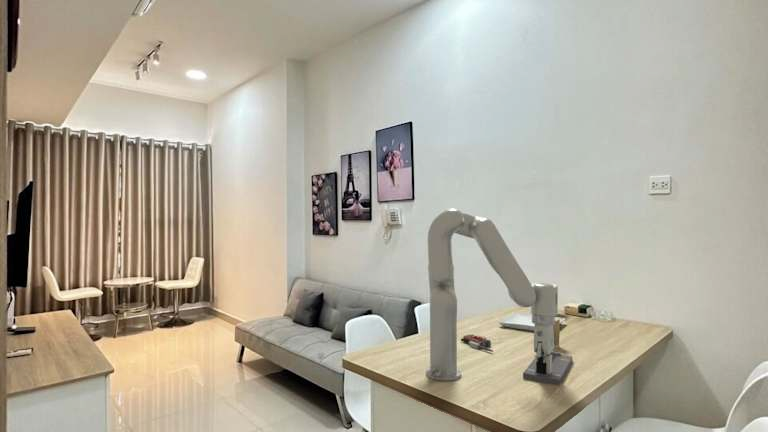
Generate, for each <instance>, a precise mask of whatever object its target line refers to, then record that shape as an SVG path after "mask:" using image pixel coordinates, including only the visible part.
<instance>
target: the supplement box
mask: <svg viewBox="0 0 768 432" xmlns="http://www.w3.org/2000/svg"><path fill="white" fill-rule="evenodd" d="M536 283H537V282H534V284H536ZM550 284H551V285H553V286H554V288H555V316H556V317H557V315H558V314H559V312H558V311H559V308H558V307H559V306H558V305H559V303H558V302H559V301H558V300H559V297H558V296H559V295H558V293H559V292H558V290H559V289H558V288H559V287H558V285H559V284H555V283H554V284H553V283H550ZM557 313H558V314H557ZM530 314H532V306H530Z"/></svg>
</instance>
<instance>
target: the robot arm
mask: <svg viewBox="0 0 768 432" xmlns="http://www.w3.org/2000/svg"><path fill="white" fill-rule="evenodd" d="M454 234H456V235H460V236H464V237H466V238H470V239H473V240H475V242H476V243H477V244H478V246H479V248H480V250H481V251H482V253H483V255H484V256H485V258H486V260H487V261H488V264H489V265H490V267H491V268H492V269H493V270H494V271H495V273H496V274H497V275H498V276H499V277H500V279H501V280H502V282H503V283H504V285H505V287H506V288H507V290H508V291H507V293H508V296H509V297H510V299H511V300H512V301H513V302H514V303H515V304H516V305H517V306H519V307H521V308H529V307H530V308H531V306H532V323H534V324H535V327H534V331H533V351H534V352H535V354H536V353H537V354H536V356H537V359H536V372H537V373H540V374H546V363H545V360H546V354H547V355H549V354H550V353H551V352H553V351H554V333H553V325H555V288H554V286H553V285H551V284H552V283H545V282H534V283H532V282H530V280H529V279H528V277H527V275H526V274H525V272H524V271H523V268H522V267H521V266H520V264H519V262H518V261H517V259H516V258H515V256H514V255H513V253H512V252H511V250H510V248H509V246H508V245H507V243H506V241H505V240H504V239H503V236H502V235H501V233H500V232H499V229H498V228H497V227H496V225H495V224H494V222H493V220H491V219H489V218H486V217H479V216H475V215H472V214H469V213H466V212H462V211H461V210H459V209H456V208H448V209H446V210H444V211H443V212H441V213H439V215H437V216H436V217H435V218H434V220H432V222H431V224H430V226H429V229H428V233H427V253H428V254H427V256H428V266H427V271H428V283H429V348H430V349H429V351H430V352H429V354H430V355H429V356H430V357H429V362H430V363H429V364H430V365H429V367H427V369H426V370H425V375H426V377H428V378H430V379H432V380H435V381H439V382H451V381H452V382H453V381H456V380H457V381H458V379H460V378H461V377H462V371H461V370H460V369H459V368H458V356H457V355H458V351H457V350H458V347H457V346H458V344H457V343H458V341H457V339H458V333H457V332H458V330H457V327H458V326H457V325H458V324H457V321H458V320H457V318H458V298H457V294H456V289H455V278H454V273H455V268H454V267H455V266H454V262H453V251H452V249H453V248H452V238H453V236H454ZM535 283H536V284H535ZM542 355H543V356H542Z"/></svg>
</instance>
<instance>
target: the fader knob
mask: <svg viewBox="0 0 768 432" xmlns="http://www.w3.org/2000/svg"><path fill="white" fill-rule="evenodd" d="M536 354H537V353H535V354H534V359H535V372H536V359H537V356H536ZM542 356H543V355H542ZM545 363H546V372H547V373H548V374H551V372H552V355H551V354H549V355H547V354H546V360H545Z"/></svg>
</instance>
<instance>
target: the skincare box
mask: <svg viewBox="0 0 768 432" xmlns="http://www.w3.org/2000/svg"><path fill="white" fill-rule="evenodd" d="M560 325H561V324H560V319H555V325H553V333H554V349H558V348H559V347H560ZM554 349H553V350H554Z"/></svg>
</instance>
